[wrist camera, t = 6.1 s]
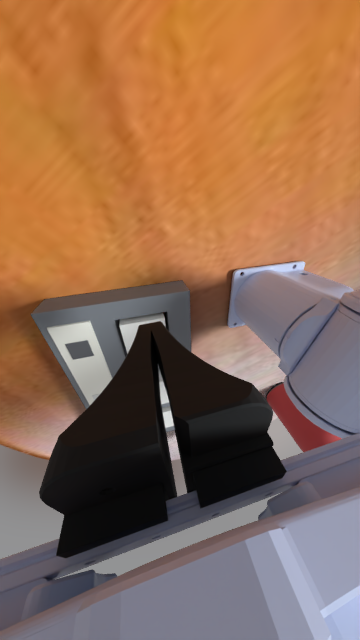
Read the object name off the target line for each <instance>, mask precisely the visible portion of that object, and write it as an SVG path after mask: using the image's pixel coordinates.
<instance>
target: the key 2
mask: <svg viewBox="0 0 360 640" xmlns="http://www.w3.org/2000/svg"><path fill="white" fill-rule="evenodd" d="M162 411H163V417H164V423H165V428H168V427H171V426H174V423H173V418H172V414H171V409H170V406H168V407H164V408H162Z"/></svg>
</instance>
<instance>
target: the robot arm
mask: <svg viewBox="0 0 360 640" xmlns="http://www.w3.org/2000/svg"><path fill="white" fill-rule="evenodd" d="M293 266H294V267H293ZM304 266H305V262H303V261H297V262H289V263H282V264H274V265H267V266H259V267H252V268H244V269H237V270H235V271H234V272H233V277H232V286H231V295H230V305H229V314H228V323H227V325H228V326H229V327H230V328H232V327H237V326H243V325H247V326H248V327H249V328H250V329H251V330H252V331H253V332H254V333H255V334H256V335H257V336H258V337H259V338H260V339H261V340H262V341H263V342H264V343H265V344H266V345H267V346H268V347H269V348H270V349H271V350H272V351H273V352H274V353H275V354H276V355H277V356H278V357H279V358H280V359H281V361H280V364H279V366H278V367H279V368H280V369H281V370H282V371H283V372H284V373H285V374H286V375H287V376H286V377H285V379H284V388H285V390H286V393H287V395H288V396H289V398H290V400H291V401H292V402H293V404H294V405H295V406H296V408H297V409H298V410H299V411H300V412H301V413H302V414H303V415H304V416H305V417H306V418H307V419H309V420H310V421H311V422H312V423H314V424H315V425H317V426H318V427H320V428H321V429H323V430H325V431H327V432H329V433H331V434H333V435H335V436H338V437H340V438H342V439H340V440H337V441H335V442H332V443H329V444H326V445H323V446H320V447H318V448H315V449H312V450H309V451H306V452H303V453H301V454H298V455H295V456H292V457H289V458H286V459H284V460H281V461H280V459H279V457H278V456H277V454H276V452H275V451H274V449H273V447H272V446H273V441H272V440H271V438H270V436H269V435H268V433H267V431H268V428H269V426H270V423H271V420H272V416H273V411H272V408H271V406H270V405H269V404H268V402H267V401H266V399H265V398H264V397H263V396H262V394H261V393H260V392H259V391H258V390H257V389H256V388H255V386H254V385H253V384H252V383H249V382H247V381H244V380H241V379H239V378H236V377H234V376H231V375H229V374H227V373H225V372H223V371H221V370H219V369H217V368H215V367H213V366H211V365H210V364H208V363H206V362H204V361H203V360H201V359H200V358H198V357H197V356H196V355H194V354H193V353H191V352H190V351H189V350H188V349H186V348H185V347H184V346H183V345H182V344H181V343H180V342H179V341H177V340H176V339H175V337H174V336H173V335H172V334H171V333H170V332H169V331H168V330H167V329H166V327H165V326H164V324H163V323H162V322H161V321H158V322H153V323H147V324H142V325H139V326H138V330H137V333H136V336H135V338H134V341H133V343H132V346H131V348H130V350H129V352H128V354H127V356H126V358H125V359H124V361H123V363H122V365H121V366H120V368H119V369H118V371H117V372H116V374H115V375H114V377H113V378H112V380H111V381H110V382H109V384H108V385H107V386H106V388H105V389H104V390H103V391H102V393H101V394H100V395H99V396H98V397H97V398H96V399H95V400H94V402H93V403H92V404H91V405H90V406H89V407H88V408H87V409H86V410H85V411H84V412H83V413H82V414H81V415H80V416H79V417H78V418H77V419H76V420H75V421H74V422H73V423H72V424H71V425H70V426H69V427H68V428H67V429H66V430H65V431H64V432H63V433H62V434H61V435H59V437H58V440H57V443H56V445H55V447H54V449H53V452H52V454H51V457H50V460H49V464H48V466H47V469H46V473H45V476H44V479H43V482H42V486H41V488H40V491H39V494H40V498H41V499H42V501H43V502H44V503H45V504H46V505H48V506H50V507H51V508H53V509H55V510H57V511H58V512H60V513H62V514H64V520H63V525H62V529H61V534H60V538H59V539H56V540H54V541H51V542H48V543H45V544H42V545H40V546H37V547H34V548H31V549H28V550H25V551H22V552H20V553H17V554H14V555H11V556H8V557H5V558H3V559H0V640H360V289H359V290H355V291H354V290H353V289H352V288H350V287H349V286H346V285H344V284H341V283H338V282H335V281H333V280H330V279H327V278H324V277H321V276H319V275H316V274H313V273H310V272H307V271H304V270H303V269H304ZM241 272H243V273H242V275H240V273H241ZM234 323H235V324H234ZM158 365H159V369H160V372H161V376H162V379H163V382H164V386H165V389H166V392H167V396H168V400H169V404H170V409H171V414H172V418H173V423H174V428H175V433H176V438H177V443H178V448H179V453H180V458H181V463H182V468H183V473H184V478H185V483H186V488H187V494H184V495H181V496H179V497H177V492H176V487H175V481H174V475H173V470H172V464H171V458H170V452H169V446H168V441H167V435H166V429H165V423H164V417H163V411H162V405H161V397H160V384H159V371H158ZM281 492H282V493H281ZM278 493H280V494H279V495H277V496H275V497H273V498H271V499H270V500H268V502H267V505H268V506H267V508H266V509H265V510H264V511H263V512H262V513H261V514H260V515H259V517H258V521H255V522H252V523H249V524H247V525H244V526H241V527H238V528H235V529H232V530H229V531H227V532H224V533H222V534H219V535H216V536H213V537H211V538H208V539H206V540H203V541H200V542H198V543H195V544H193V545H190V546H188V547H185V548H183V549H181V550H178V551H175V552H173V553H171V554H168V555H166V556H163V557H161V558H159V559H156V560H154V561H152V562H149V563H147V564H145V565H142V566H140V567H138V568H136V569H133V570H131V571H129V572H127V573H124V574H122V575H120V576H118V577H117V575H116V574H115V573H114V574H98V573H95V571H94V570H89V571H85V572H81V573H78V574H74V575H70V576H67V577H63V578H60V577H62V576H65V575H68V574H70V573H73V572H75V571H78V570H81V569H83V568H86V567H88V566H91V565H94V564H96V563H99V562H101V561H104V560H107V559H109V558H112V557H114V556H117V555H120V554H122V553H125V552H127V551H130V550H133V549H135V548H138V547H140V546H143V545H146V544H148V543H151V542H154V541H156V540H159V539H161V538H164V537H167V536H169V535H172V534H174V533H177V532H180V531H182V530H185V529H187V528H190V527H193V526H195V525H198V524H200V523H203V522H206V521H208V520H211V519H213V518H216V517H219V516H221V515H224V514H226V513H229V512H232V511H234V510H237V509H239V508H242V507H245V506H247V505H250V504H252V503H255V502H258V501H260V500H263V499H265V498H268V497H271V496H273V495H276V494H278ZM57 578H59V579H57Z"/></svg>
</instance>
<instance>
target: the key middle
mask: <svg viewBox="0 0 360 640" xmlns="http://www.w3.org/2000/svg"><path fill="white" fill-rule="evenodd" d="M158 371H159V384H160V397H161V404H165V403H169V400H168V396H167V392H166V389H165V386H164V382H163V379H162V376H161V372H160V370H158Z"/></svg>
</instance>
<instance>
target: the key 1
mask: <svg viewBox="0 0 360 640" xmlns="http://www.w3.org/2000/svg"><path fill="white" fill-rule="evenodd" d="M158 321H161V322H162V323H163V324H164V326H165V327H166V325H165V318H164V314H163V312H161V313H155V314H149V315H143V316H137V317H131V318H125V319H120V323H119V326H120V330H121V333H122V337H123V340H124V344H125V347H126V351H127V354H128V352H129V350H130V348H131V346H132V343H133V341H134V338H135V336H136V333H137V330H138V326H139V325H142V324H147V323H153V322H158Z"/></svg>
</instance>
